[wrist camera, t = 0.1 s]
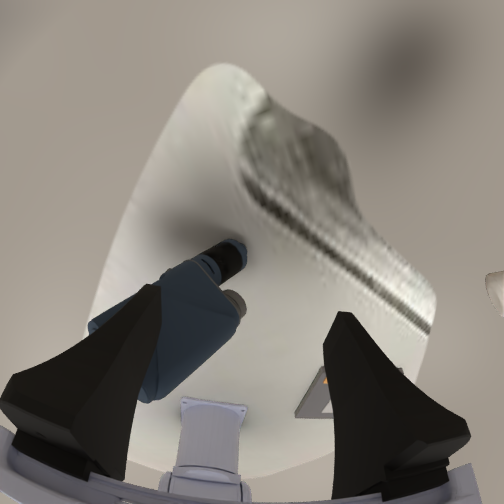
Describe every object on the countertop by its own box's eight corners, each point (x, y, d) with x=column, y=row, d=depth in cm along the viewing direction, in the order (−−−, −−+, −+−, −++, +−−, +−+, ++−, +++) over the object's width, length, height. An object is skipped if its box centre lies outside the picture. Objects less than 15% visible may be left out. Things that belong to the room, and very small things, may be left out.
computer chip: (365, 412, 34) (366, 418, 34) (294, 412, 34) (295, 419, 33) (401, 368, 29) (404, 375, 28) (321, 366, 29) (322, 374, 28)
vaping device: (81, 329, 13) (221, 247, 23) (145, 411, 13) (268, 300, 22) (84, 309, 12) (238, 225, 21) (158, 404, 11) (290, 282, 20)
